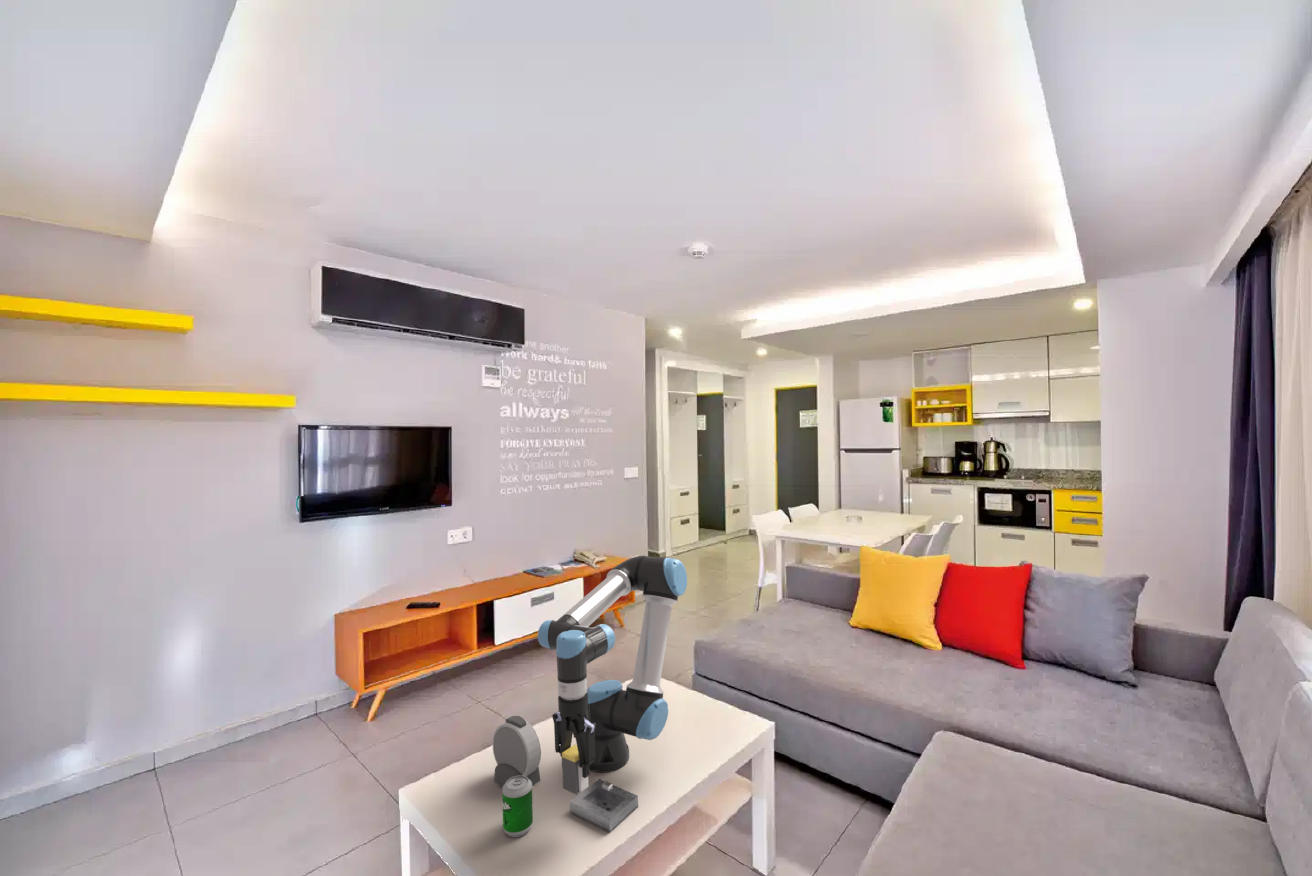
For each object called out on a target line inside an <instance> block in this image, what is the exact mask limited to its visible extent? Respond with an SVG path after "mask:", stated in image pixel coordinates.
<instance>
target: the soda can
mask: <svg viewBox="0 0 1312 876" xmlns="http://www.w3.org/2000/svg"><path fill="white" fill-rule="evenodd" d="M501 792H502V793H501V794H502V795H501V796H502V830H503V832H504V833H505V834H506V835H507V836H509V837H512V838H518V837H521V836H523V835H525V834H527V832H529V831H530V829H531V828H532V827H533V822H534V817H533V814H534V813H533V786H532V782H531V780H529V779H528V778H527V777H526V776H520V775H519V776H514V777H512V778H510V779H509V780H507V782H506V783H505V784H504V786H503V788H501Z"/></svg>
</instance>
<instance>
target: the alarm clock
mask: <svg viewBox="0 0 1312 876" xmlns="http://www.w3.org/2000/svg"><path fill="white" fill-rule="evenodd" d="M539 738H540V737H539V736H538V734H537V731H536V730H535V727H533V726H532V724H530V722H528V721H527V720H526V719H525V718H523V717H522V716H520V715H512V716H509V717H508V718H506V719H505V722H503V723H502V724H501V723H500V725H498V726H497V727H496V729H495V730H494V732H493V736H492V751H493V752H492V753H493V757H494V760H495V762H496V766H495V768H494V775H493V776H494V777H493V778H494V779H493V781H494V783H495V784H496V785H497V786H498V787H499V788H501V789H503V786H504V784H505V783H506V782H507V780H509V779H510V778H512V777H514V776H519V775H520V776H526V777H527V778H528V779H529V780H531V782H532V787H534V786H535V785H536V784H538V783H539V782H541V777H540V763H541V759H542V758H541V757H542V749H541V742H540V739H539Z"/></svg>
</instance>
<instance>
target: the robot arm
mask: <svg viewBox="0 0 1312 876" xmlns="http://www.w3.org/2000/svg"><path fill="white" fill-rule="evenodd" d="M687 576H688V573H687V570H686V567H685V564H684V563H683V562H682V561H681V560H680V559H677V558H671V557H662V556H648V555H637V556H633V557H630V558H629V559H626V560H624V561H622V562H620V563H618V564H617V565H616V566H615V567H613V568H612V569H610V570H609V571H608V573H607V574H606V578H605V579H603V580H602V581H601V582H600V583H599V584H598V585H597V586H595V587H594V588H593V589H592V590H591V591H590V592H588V593H587V594H586V595H585V596H584V597H583V598H582V599H580V600H579V601H578V602H577V603H576V604H575V605H573V606H572V607H571V608H570V609H569V610H567V611H566V612H565V613H564V614H563V615H562V616H560V617H559V618H558V619H557V620H554V619H552V620H549V619H548V620H545V621H543V622H542V623H541V624H540V626H539V628H538V630H537V641H538V643H539V646H541V647H543V648H545V649H550V650H552V651H553V650H554V651H555V654H556V668H557V669H556V670H557V672H556V673H557V694H558V696H557V700H558V701H557V702H558V703H557V704H558V711H556V712H554V713H553V714H552V716H551V717H552V720H553V726H554V727H553V729H554V731H553V732H554V751H555V753H556V754H559V756H560V757H561V758H562V753H563V752H564V751H566V750H567V749H569V748H570V747H572V739H573V738H575V742H576V745H577V748H578V753H579V758H580V764H579V765H578V775H579V791H580V792H579V793H582V792H583V791H584V790H586V789H587V788H588V787H590V785H588V780H589V777H590V771H592V772H598V773H599V772H600V773H604V772H611V771H616V770H618V769H620V768H622V767H624V766H625V765H626V764H627V763H628V761H629V759H630V748H629V747H630V746H629V745H628V742H627V739H626V736H625V735H627V736H631V737H636V738H638V739H640V740H641V739H642V740H647V741H652V740H655V739H656V738H658V737H659V736H660V734H661V733H662V731H664V728H665V726H666V723H667V720H668V716H669V704H668V702H667V701H666V699H664V690H663V689H662V687H661V679H662V672H663V667H664V660H665V653H666V646H667V641H668V640H667V639H668V633H669V627H670V620H671V613H672V607H673V606H674V605H676V604H677V603H678V599H679V597H681V596H683V595H684V594H685V592H686V590H687V585H688V577H687ZM633 591H640V592H642V597H643V599H644V601H645V606H644V611H643V618H642V624H641V630H640V635H639V641H638V647H637V653H636V660H635V665H634V671H633V677H632V680H631V681H630V683H628V684H627V685H626V689H625V690H623V684H622V682H621V681H620V680H617V679H608V680H602V681H598V682H596V683H593V684H591V685H590V686H589V687H588V673H587V671H588V670H587V665H588V664H591V662H593V661H594V660H597V659H598V658H600V657H602V656H605V655H606V654H607V653H608V652H609V651H611V650H612V649H613V648H614V646H615V643H616V634H615V632H614V630H613V628H612V627H610V626H609V625H608V624H604V623H601V624H597V625H595V626H593V627H590V626H591V625H592V624H593V623H594V622H595V621H596V620H597V619H599V618H600V616H601V615H603V614H604V613H605V612H606V611H607V610H608V609H609V608H610V607H611V606H612V605H613V604H614V603H615V602H616V601H617V600H619V598H621V597H624V596H627V595H629V594H630V592H633Z"/></svg>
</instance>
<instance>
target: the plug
mask: <svg viewBox="0 0 1312 876" xmlns="http://www.w3.org/2000/svg"><path fill="white" fill-rule="evenodd" d="M579 764H580V758H579V753H578V748H577V744H573V745H571V747H570V748H569V749H567V750H566V751H564V752H563V753H562V757H561V768H562V789H563V790H566V791H568V792H570V793H572V794H573V795H577V794H578V795H579V794H580V793H581V792H580V791H579V775H578V765H579ZM589 781H590V780H589V779H588V785H589V783H590V782H589ZM589 786H590V785H589Z"/></svg>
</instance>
